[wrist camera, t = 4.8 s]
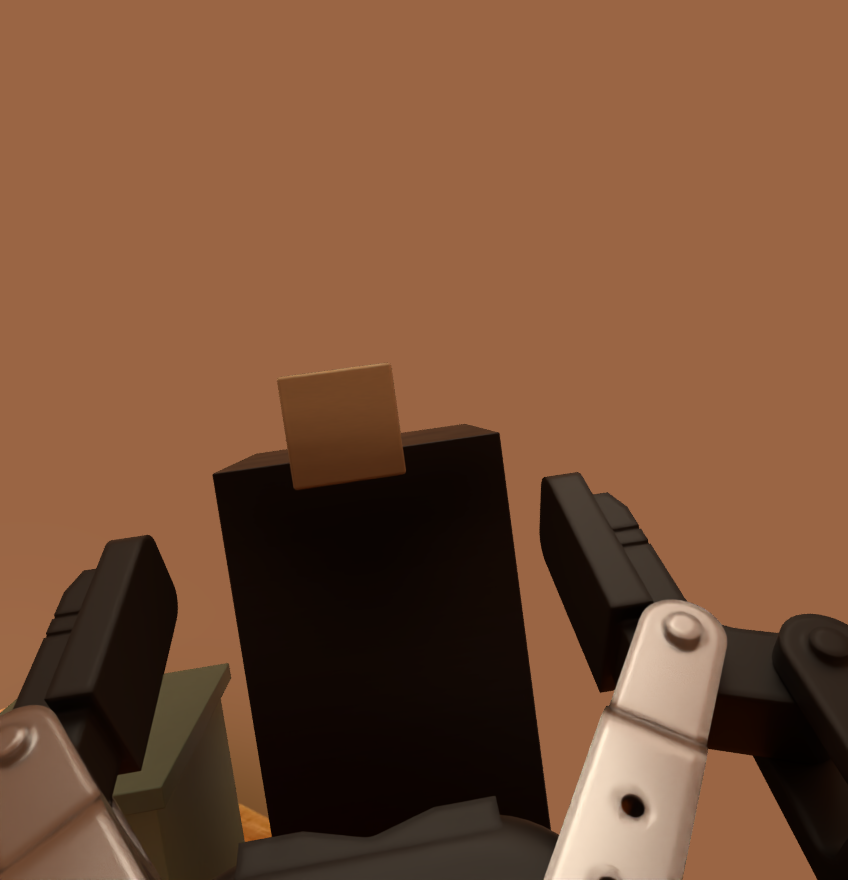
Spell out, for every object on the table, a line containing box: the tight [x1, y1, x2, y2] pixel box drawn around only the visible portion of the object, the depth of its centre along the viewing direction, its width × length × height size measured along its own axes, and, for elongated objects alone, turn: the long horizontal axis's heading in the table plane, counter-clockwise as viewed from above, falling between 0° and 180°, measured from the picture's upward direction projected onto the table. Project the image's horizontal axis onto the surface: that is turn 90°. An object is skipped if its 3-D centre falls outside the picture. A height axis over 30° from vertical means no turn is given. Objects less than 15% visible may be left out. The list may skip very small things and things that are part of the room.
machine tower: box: [213, 424, 551, 837], centre depth 27 cm, size 8×10×32 cm
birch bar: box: [277, 363, 406, 490], centre depth 24 cm, size 20×2×2 cm, turn 5°
